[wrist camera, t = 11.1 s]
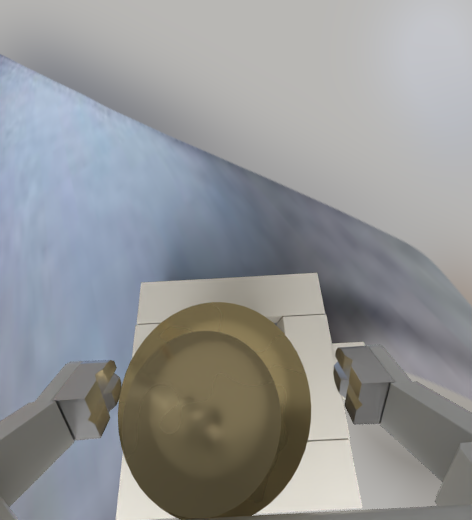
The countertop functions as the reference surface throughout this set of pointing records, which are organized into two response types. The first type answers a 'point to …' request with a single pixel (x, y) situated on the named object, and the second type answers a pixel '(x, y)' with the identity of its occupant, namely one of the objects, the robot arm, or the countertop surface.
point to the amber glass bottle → (214, 412)
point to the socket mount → (316, 368)
